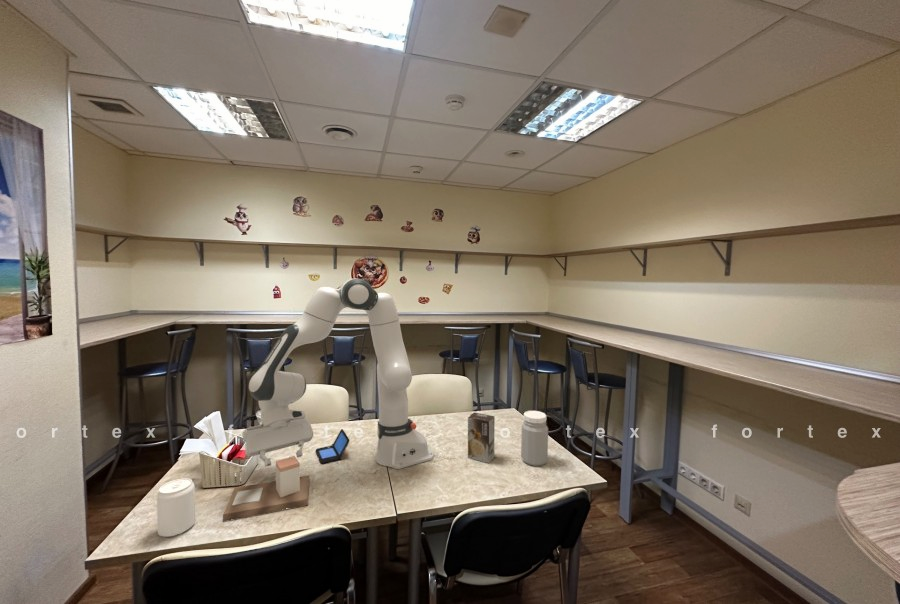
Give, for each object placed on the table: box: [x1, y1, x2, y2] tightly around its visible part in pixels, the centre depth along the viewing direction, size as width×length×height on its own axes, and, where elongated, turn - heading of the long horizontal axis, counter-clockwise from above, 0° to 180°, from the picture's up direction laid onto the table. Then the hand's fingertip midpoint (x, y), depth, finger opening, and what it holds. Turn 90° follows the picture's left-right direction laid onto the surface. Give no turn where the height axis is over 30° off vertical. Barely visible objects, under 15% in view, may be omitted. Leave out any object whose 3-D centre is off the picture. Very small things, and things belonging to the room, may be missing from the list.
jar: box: [520, 410, 549, 467], centre depth 134 cm, size 10×10×18 cm
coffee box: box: [467, 412, 495, 464], centre depth 136 cm, size 9×6×16 cm
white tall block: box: [275, 455, 301, 497], centre depth 110 cm, size 6×6×9 cm
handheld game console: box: [315, 428, 350, 465], centre depth 138 cm, size 12×11×7 cm
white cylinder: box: [156, 477, 196, 537], centre depth 96 cm, size 8×8×12 cm
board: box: [222, 474, 310, 522], centre depth 109 cm, size 22×14×9 cm, turn 110°
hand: (284, 460), depth 113 cm, fingers open, 8 cm apart
